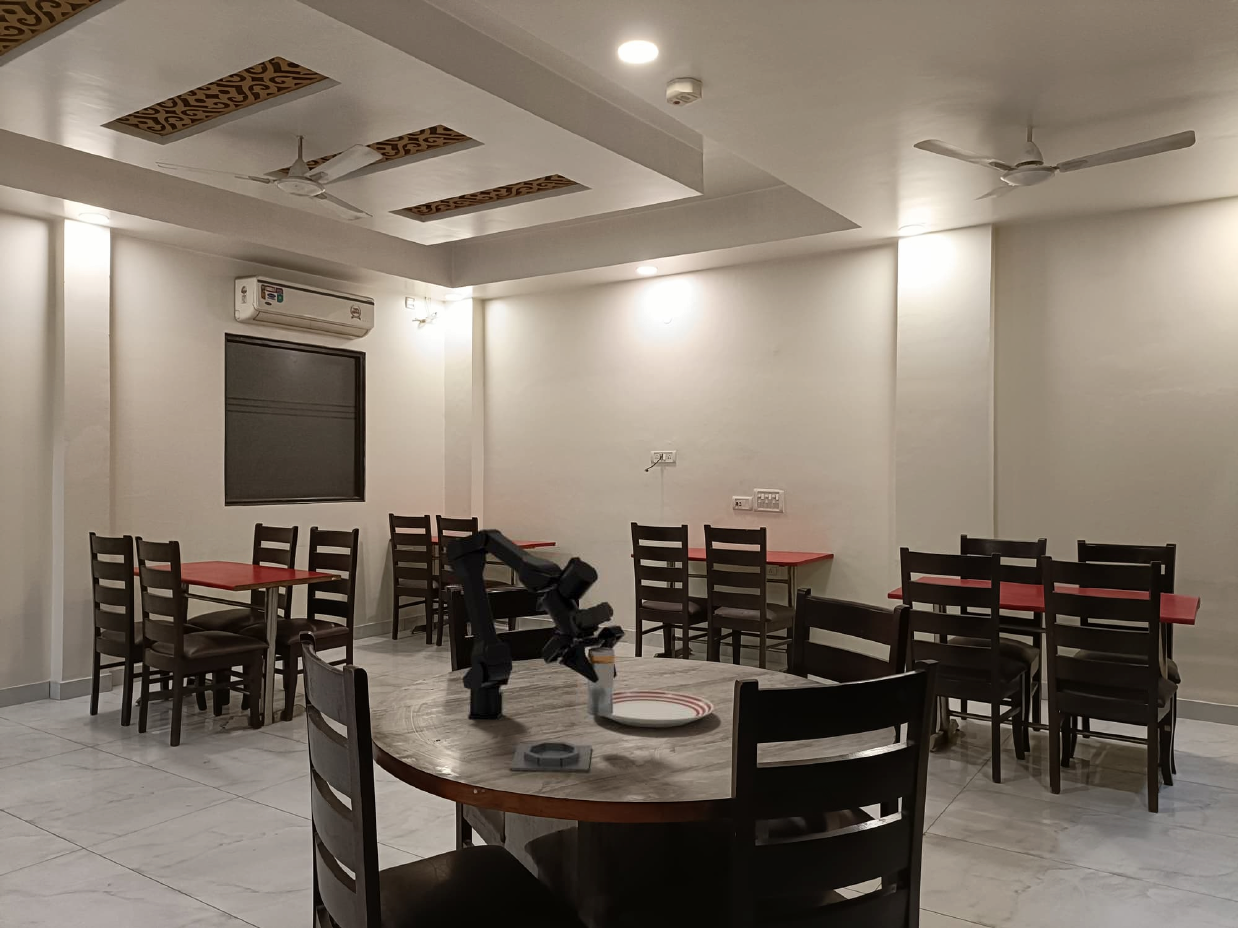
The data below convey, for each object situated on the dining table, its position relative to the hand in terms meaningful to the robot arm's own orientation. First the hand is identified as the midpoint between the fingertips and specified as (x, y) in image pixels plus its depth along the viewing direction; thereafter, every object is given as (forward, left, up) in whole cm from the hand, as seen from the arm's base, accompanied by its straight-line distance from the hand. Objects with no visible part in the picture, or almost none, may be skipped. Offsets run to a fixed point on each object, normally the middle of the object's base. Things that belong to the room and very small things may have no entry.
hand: (605, 679), depth 173 cm
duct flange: (-10, -6, -13) cm, 18 cm away
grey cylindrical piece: (-1, +1, -7) cm, 7 cm away
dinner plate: (+9, +25, -14) cm, 30 cm away
